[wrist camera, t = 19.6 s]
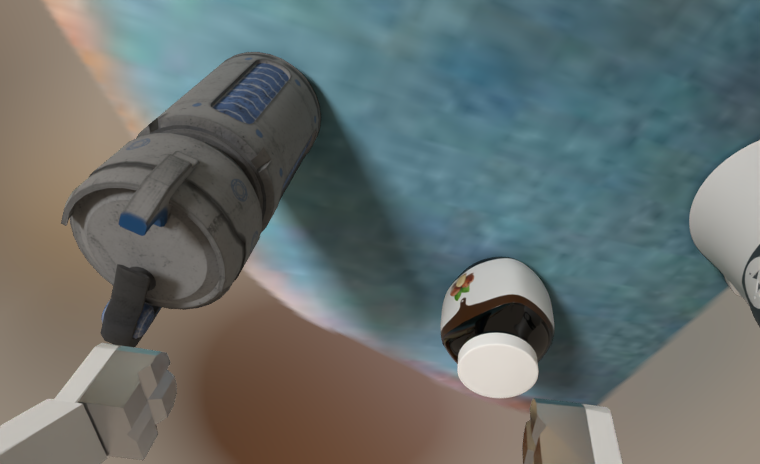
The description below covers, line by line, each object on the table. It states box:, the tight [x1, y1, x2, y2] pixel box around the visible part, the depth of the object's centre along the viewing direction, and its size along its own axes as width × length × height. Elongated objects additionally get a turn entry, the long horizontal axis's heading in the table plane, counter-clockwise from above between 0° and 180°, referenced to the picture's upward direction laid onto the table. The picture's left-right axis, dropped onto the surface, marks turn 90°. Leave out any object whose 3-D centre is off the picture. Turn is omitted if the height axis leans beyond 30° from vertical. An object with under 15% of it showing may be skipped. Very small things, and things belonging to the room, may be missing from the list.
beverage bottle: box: [61, 52, 321, 347], centre depth 40 cm, size 10×13×25 cm
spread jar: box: [440, 257, 554, 398], centre depth 54 cm, size 12×11×12 cm
